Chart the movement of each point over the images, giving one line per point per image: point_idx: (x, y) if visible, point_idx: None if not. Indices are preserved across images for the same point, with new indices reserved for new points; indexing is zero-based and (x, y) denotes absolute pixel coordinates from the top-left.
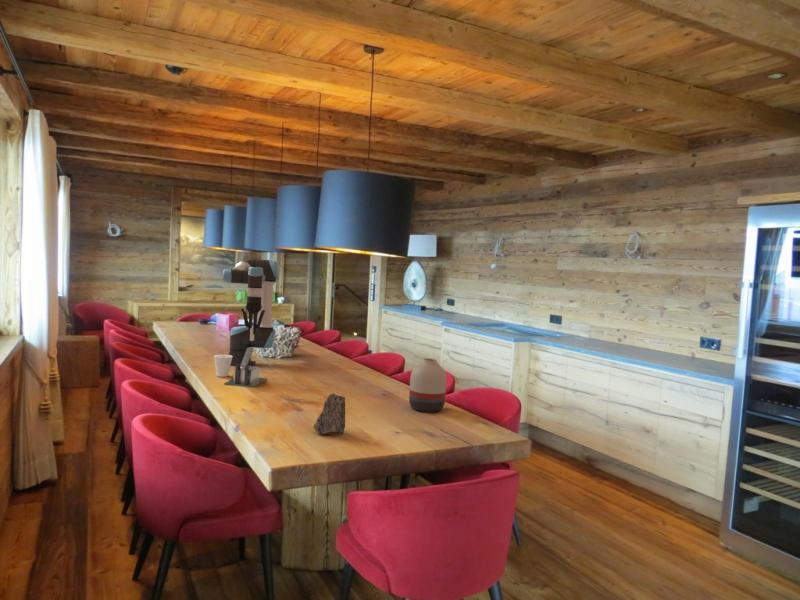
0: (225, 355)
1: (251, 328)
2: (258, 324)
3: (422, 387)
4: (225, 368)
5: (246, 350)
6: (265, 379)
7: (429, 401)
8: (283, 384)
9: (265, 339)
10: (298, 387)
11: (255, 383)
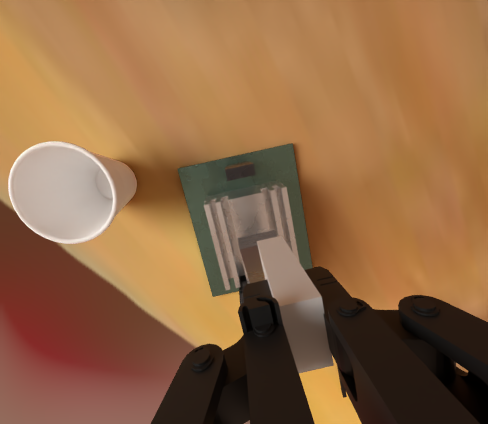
0: (40, 148)
1: (308, 370)
2: (477, 412)
3: None
4: (125, 204)
5: (243, 260)
6: (295, 163)
7: None
8: (375, 181)
9: None
10: (436, 194)
11: (300, 246)
